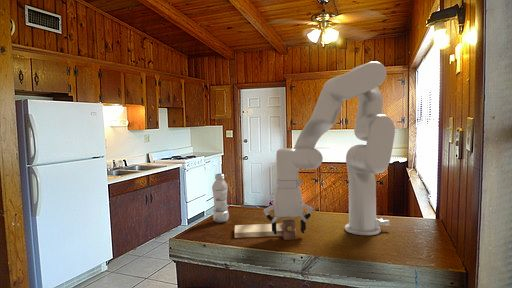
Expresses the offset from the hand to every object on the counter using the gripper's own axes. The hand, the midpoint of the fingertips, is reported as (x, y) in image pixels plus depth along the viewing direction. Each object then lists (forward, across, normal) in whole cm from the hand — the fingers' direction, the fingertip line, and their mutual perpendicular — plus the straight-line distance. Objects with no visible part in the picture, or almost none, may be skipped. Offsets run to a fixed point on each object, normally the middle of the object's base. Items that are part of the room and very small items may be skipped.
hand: (288, 232), depth 115 cm
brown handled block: (+2, 0, -5) cm, 5 cm away
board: (+2, +8, -7) cm, 11 cm away
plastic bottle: (+2, +25, -23) cm, 34 cm away
